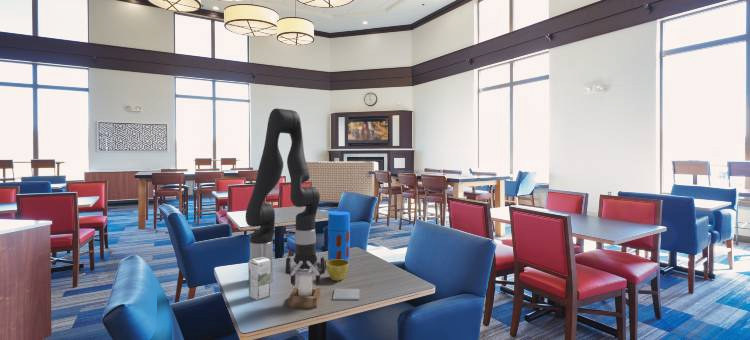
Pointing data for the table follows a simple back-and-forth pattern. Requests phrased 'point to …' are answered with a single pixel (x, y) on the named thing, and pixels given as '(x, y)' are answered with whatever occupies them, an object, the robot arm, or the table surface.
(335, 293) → the coaster
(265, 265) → the syrup box
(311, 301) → the wooden tray
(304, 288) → the white lidded jar
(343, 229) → the thermos
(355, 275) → the table surface
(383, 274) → the table surface
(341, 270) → the flower pot
